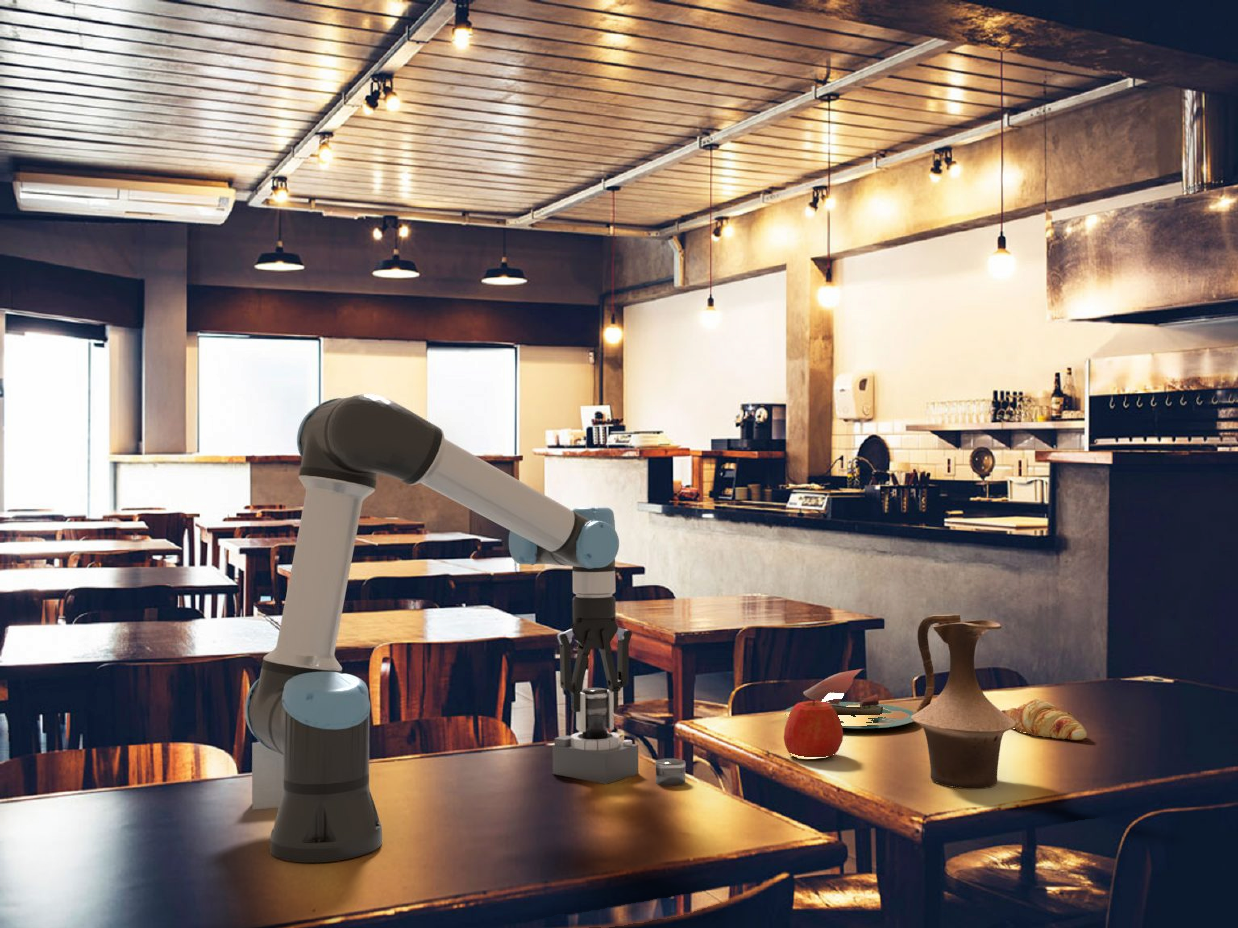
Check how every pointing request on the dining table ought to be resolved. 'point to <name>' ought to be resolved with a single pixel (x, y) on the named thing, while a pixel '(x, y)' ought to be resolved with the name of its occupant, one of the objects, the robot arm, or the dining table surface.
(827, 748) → the apple
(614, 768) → the camera body
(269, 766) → the light grey rectangular block
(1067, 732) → the croissant
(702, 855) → the dining table surface
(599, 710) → the lens
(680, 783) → the cylinder
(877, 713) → the plate
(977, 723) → the pitcher
